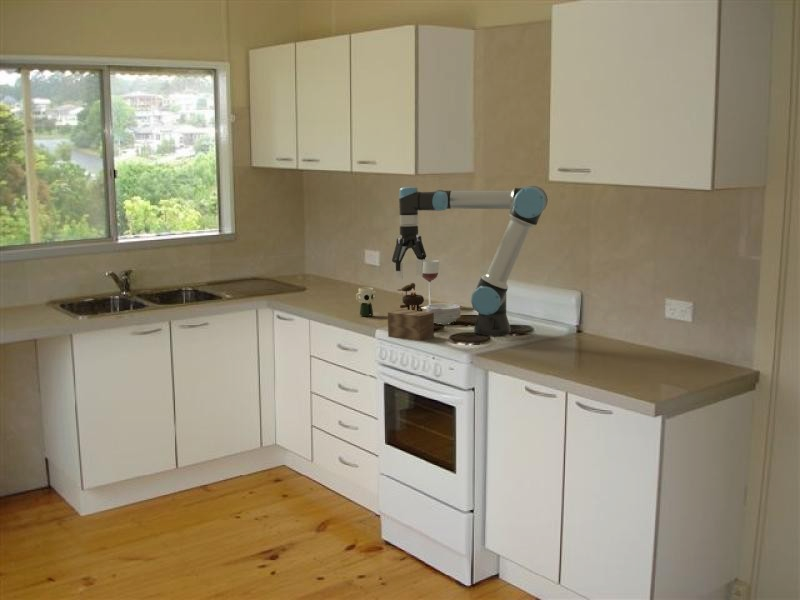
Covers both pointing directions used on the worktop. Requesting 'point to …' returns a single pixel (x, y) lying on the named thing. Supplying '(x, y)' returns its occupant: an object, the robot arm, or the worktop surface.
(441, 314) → the paper bowls
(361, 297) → the character mug
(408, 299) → the music box
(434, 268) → the wineglass
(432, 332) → the brown wooden block
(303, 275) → the worktop surface
